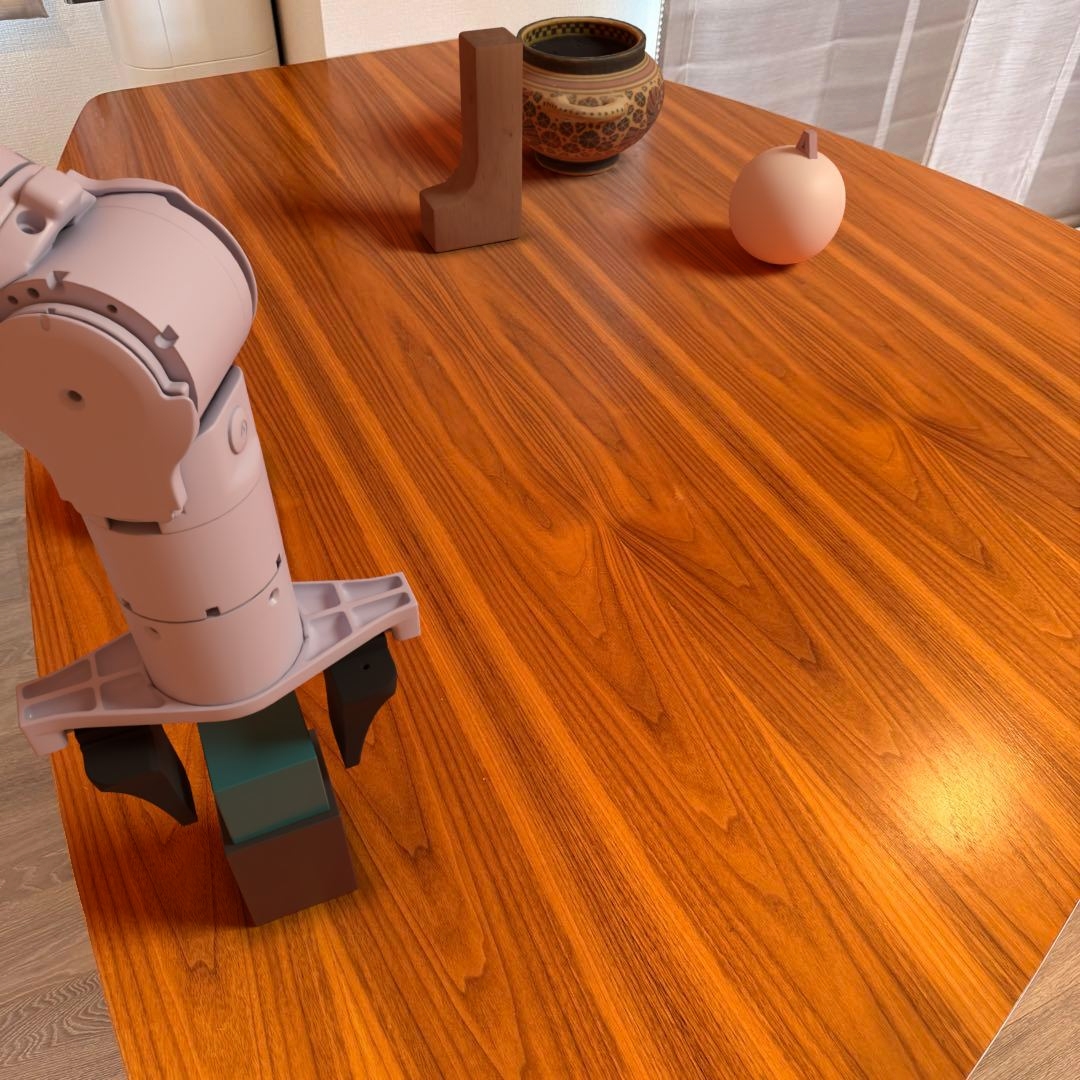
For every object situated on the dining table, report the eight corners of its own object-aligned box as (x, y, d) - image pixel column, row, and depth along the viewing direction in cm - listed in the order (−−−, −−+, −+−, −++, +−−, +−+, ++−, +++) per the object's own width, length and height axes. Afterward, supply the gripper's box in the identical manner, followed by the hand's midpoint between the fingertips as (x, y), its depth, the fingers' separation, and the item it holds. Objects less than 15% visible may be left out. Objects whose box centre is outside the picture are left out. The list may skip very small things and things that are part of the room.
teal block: (234, 845, 41) (212, 793, 38) (215, 767, 44) (193, 712, 41) (330, 810, 43) (316, 757, 40) (306, 736, 45) (292, 681, 42)
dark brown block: (255, 927, 46) (225, 855, 41) (237, 837, 49) (206, 760, 44) (359, 889, 47) (341, 816, 42) (334, 804, 51) (314, 727, 46)
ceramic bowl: (517, 138, 119) (484, 7, 109) (661, 102, 116) (640, -35, 106) (518, 234, 102) (478, 89, 91) (687, 194, 99) (665, 41, 89)
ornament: (849, 255, 94) (882, 130, 85) (793, 295, 88) (823, 165, 80) (759, 221, 99) (782, 99, 90) (701, 257, 93) (719, 130, 85)
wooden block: (435, 254, 92) (423, 53, 80) (420, 233, 95) (406, 36, 83) (522, 238, 95) (524, 41, 82) (505, 218, 98) (505, 25, 85)
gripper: (369, 441, 38) (397, 659, 48) (-37, 542, 34) (85, 760, 43) (429, 560, 33) (447, 774, 43) (-31, 695, 29) (103, 901, 39)
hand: (268, 776), depth 43 cm, fingers open, 6 cm apart
